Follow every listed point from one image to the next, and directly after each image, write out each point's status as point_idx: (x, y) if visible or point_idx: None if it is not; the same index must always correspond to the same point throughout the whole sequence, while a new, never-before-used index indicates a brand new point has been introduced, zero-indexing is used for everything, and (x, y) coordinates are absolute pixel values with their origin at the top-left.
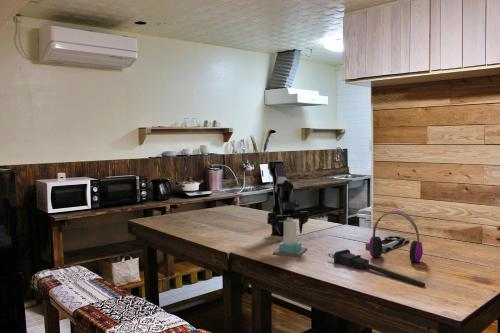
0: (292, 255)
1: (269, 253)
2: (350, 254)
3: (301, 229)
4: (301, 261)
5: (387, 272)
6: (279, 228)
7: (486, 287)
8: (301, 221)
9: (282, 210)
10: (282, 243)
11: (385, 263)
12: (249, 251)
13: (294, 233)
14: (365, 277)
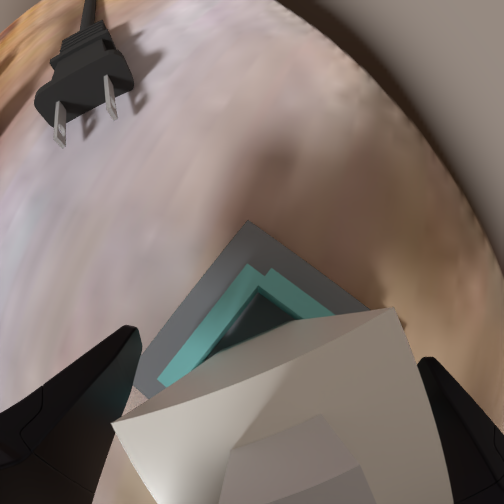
0: (289, 253)
1: (416, 356)
2: (63, 70)
3: (102, 348)
4: (270, 137)
5: (93, 5)
6: (461, 403)
7: (31, 10)
8: (12, 443)
9: None
10: None
11: (12, 93)
12: (487, 410)
13: (227, 356)
14: (144, 3)
